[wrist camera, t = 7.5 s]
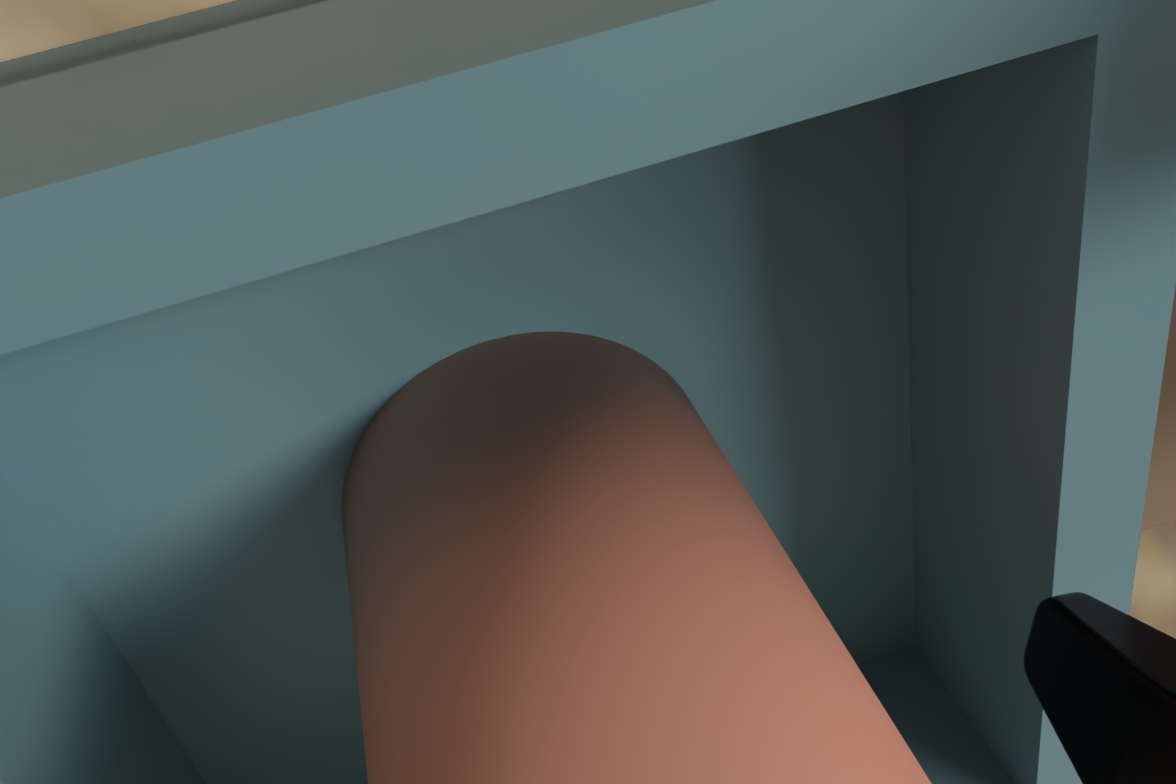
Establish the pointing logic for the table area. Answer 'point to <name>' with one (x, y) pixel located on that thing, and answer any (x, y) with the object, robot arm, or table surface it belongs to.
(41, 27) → the table surface
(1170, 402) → the crank base
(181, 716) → the tray
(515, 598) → the pin
